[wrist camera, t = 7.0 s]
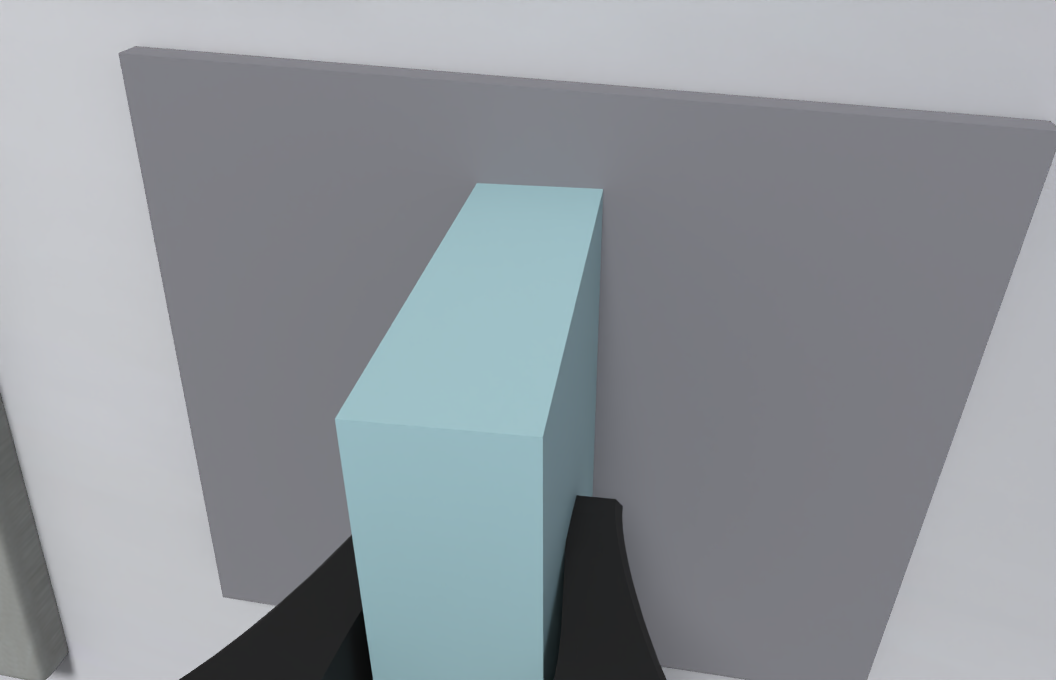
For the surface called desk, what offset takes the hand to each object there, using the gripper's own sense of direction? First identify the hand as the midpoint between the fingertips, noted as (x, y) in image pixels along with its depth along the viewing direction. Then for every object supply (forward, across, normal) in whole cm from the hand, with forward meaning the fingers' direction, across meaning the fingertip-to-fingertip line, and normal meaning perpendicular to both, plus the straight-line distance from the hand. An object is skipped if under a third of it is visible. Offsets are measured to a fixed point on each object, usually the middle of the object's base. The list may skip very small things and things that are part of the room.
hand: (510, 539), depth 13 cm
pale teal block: (+3, 0, 0) cm, 3 cm away
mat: (+4, 0, 0) cm, 4 cm away
